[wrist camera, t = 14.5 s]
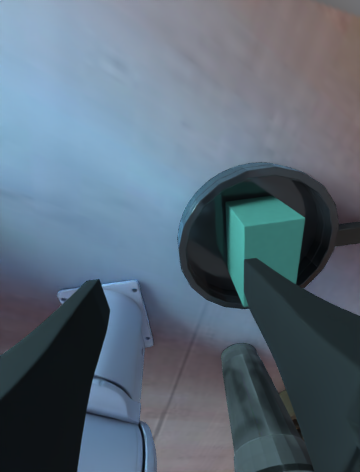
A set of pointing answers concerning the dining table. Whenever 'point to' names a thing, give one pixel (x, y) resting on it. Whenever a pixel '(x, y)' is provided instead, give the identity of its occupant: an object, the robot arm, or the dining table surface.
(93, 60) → the dining table surface
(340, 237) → the pan handle
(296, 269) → the teal rectangular block
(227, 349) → the beverage cup
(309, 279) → the pan
